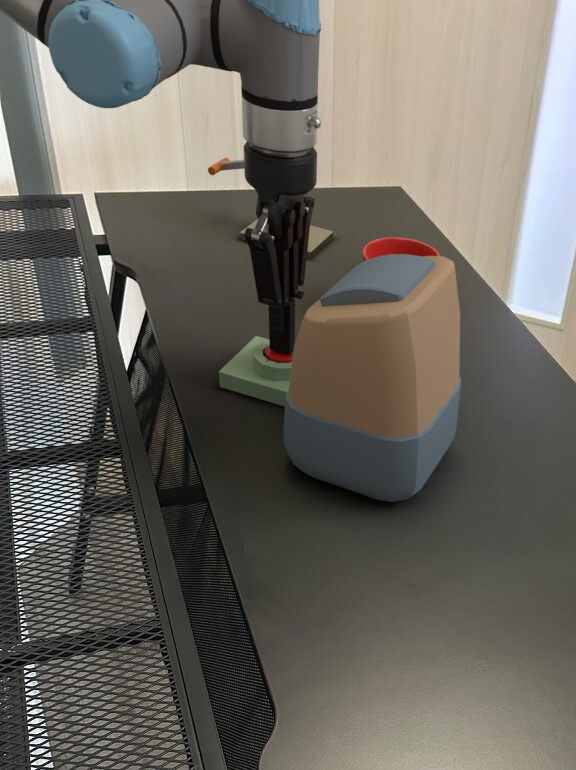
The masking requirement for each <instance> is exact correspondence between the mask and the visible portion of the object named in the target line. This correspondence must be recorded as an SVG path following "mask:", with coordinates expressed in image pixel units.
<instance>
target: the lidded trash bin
mask: <svg viewBox="0 0 576 770" xmlns="http://www.w3.org/2000/svg"><path fill="white" fill-rule="evenodd" d="M460 309H461V308H460V300H459V291H458V283H457V275H456V266H455V262H454V261H453V260H452V259H450V258H447V257H446V256H443V255H440V256H424V257H421V256H415V255H407V254H390V255H384V256H379V257H375V258H372V259H369V260H366V261H364V262H363V261H362V262H360V263H357V264H356V265H355V266H354V267H353V268H352V269H351V270H349V271H348V272H347V273H346V274H345V275H344V276H343V277H342V278H340V279H339V280H338V281H337V282H335V284H334V285H332V286H331V287H330V288H329V289H328V290H327V291H326V292H325V293H323V295H321V296H320V297H319V299H318V300H317V301H315V302H314V303H313V304H312V305H311V306H310V307H309V308H307V310H306V312H305V314H304V316H303V319H302V321H301V324H300V327H299V330H298V332H297V336H296V338H295V345H294V351H293V359H292V367H291V375H290V383H289V390H288V392H287V395H286V397H285V407H284V418H283V419H284V420H283V437H282V438H283V439H282V442H283V444H284V447H285V449H286V452H287V454H288V456H289V458H290V460H291V463H292V465H294V466H295V467H296V468H297V469H299V470H300V471H301V472H303V473H304V474H306V475H308V476H309V477H312V478H313V479H317V480H320V481H322V482H325V483H328V484H331V485H333V486H337V487H339V488H341V489H342V488H343V489H345V490H348V491H351V492H355V493H357V494H360V495H362V496H366V497H367V498H368V497H369V498H372V499H374V500H377V501H383V502H390V503H396V502H401V501H406V500H408V499H410V498H412V497H413V496H414V495H416V494H417V493H418V492H419V491H421V490H422V489H423V487H424V486H425V484H426V483H427V481H428V480H429V478H430V476H431V475H432V474H433V472H434V470H435V469H436V468H437V466H438V464H439V463H440V462H441V460H442V459H443V458H444V455H445V454H446V452H447V451H448V449H449V448H450V446H451V444H452V443H453V440H454V439H455V436H456V434H457V433H456V432H457V428H458V417H459V408H460V407H459V406H460V398H461V389H462V387H461V386H462V378H461V376H460V370H461V369H460V366H461V365H460V364H461V362H460V361H461V350H460V349H461V347H460V346H461V310H460Z"/></svg>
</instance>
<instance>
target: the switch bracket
mask: <svg viewBox="0 0 576 770" xmlns="http://www.w3.org/2000/svg"><path fill="white" fill-rule="evenodd" d="M305 195H306V196H308V192H307V193H305ZM257 221H258V218H257V219H256V220H254V221H253V222H252V223H250V224H249V225H248V226H246V227H245V228H244V229H242V230H241V231H239V240H240V241H244V242H247V241H246V239H245V230H246V228H252V229H254V228H255V226H256V223H257ZM333 239H334V231H333V230H330V229H326V228H323V227H318V226H315V225H311V224H310V232H309V241H308V250H307V259H308V260H311V259H313V258H314V257H315V256H316V255H318V254H319V252H320V251H321V250H323V249H324V248H325V247H326V246H327V245H328V244H329V243H330V242H331V241H333Z"/></svg>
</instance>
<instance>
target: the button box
mask: <svg viewBox="0 0 576 770" xmlns="http://www.w3.org/2000/svg"><path fill="white" fill-rule="evenodd" d="M267 346H269V338H265V337H262V336H258V335H255V336H254V337H253V338H252V339H250V341H249V342H248V343H247V344H246V345H245V346H244V347H243V348H241V349H240V351H238V352H237V353H236V354H235V355H234V356H233V357H232V358H231V359H230V360H229V361H228V362H227V363H226V364H225V365H224V366H222V368H220V370H218V381H219V383H218V384H219V387H220V388H222V389H226V390H227V391H228V390H229V391H232V392H236V393H239V394H242V395H245V396H249V397H251V398H254V399H259V400H260V401H261V400H262V401H265V402H268V403H271V404H274V405H278V406H281V407H283V408H285V397H286V395H287V392H288V390H289V383H290V375H291V367H292V362H290V363H276V362H273V361H270V360H268V359H267V358H265V349H266V347H267Z"/></svg>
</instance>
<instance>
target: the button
mask: <svg viewBox="0 0 576 770" xmlns="http://www.w3.org/2000/svg"><path fill="white" fill-rule="evenodd" d="M265 358H267V359H268V360H270V361H273V362H276V363H290V362H292V359H293V352H292V353H291V355H287V354H284V353H281V352H277V351H274V350H270V345H269V346H267V347H266V349H265Z"/></svg>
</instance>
